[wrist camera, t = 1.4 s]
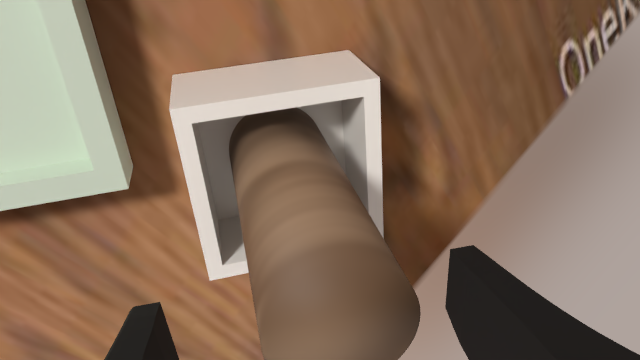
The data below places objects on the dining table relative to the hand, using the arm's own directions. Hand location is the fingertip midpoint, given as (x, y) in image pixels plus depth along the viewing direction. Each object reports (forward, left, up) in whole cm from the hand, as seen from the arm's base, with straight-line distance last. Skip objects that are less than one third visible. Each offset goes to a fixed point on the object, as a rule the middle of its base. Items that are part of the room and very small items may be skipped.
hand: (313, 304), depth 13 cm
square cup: (0, -1, -11) cm, 11 cm away
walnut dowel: (0, -1, -10) cm, 10 cm away
